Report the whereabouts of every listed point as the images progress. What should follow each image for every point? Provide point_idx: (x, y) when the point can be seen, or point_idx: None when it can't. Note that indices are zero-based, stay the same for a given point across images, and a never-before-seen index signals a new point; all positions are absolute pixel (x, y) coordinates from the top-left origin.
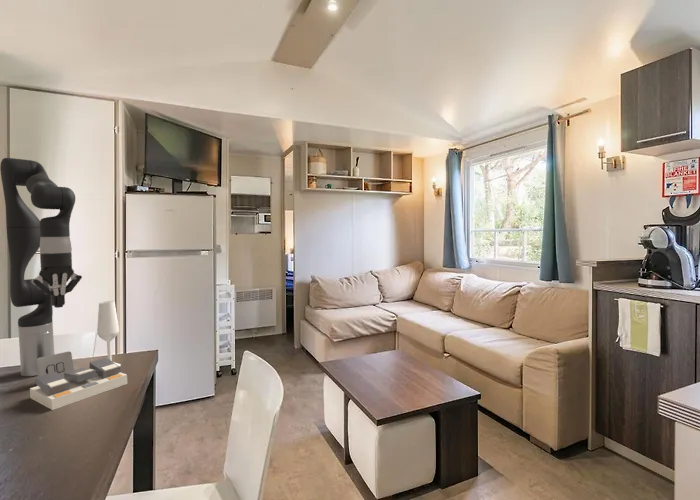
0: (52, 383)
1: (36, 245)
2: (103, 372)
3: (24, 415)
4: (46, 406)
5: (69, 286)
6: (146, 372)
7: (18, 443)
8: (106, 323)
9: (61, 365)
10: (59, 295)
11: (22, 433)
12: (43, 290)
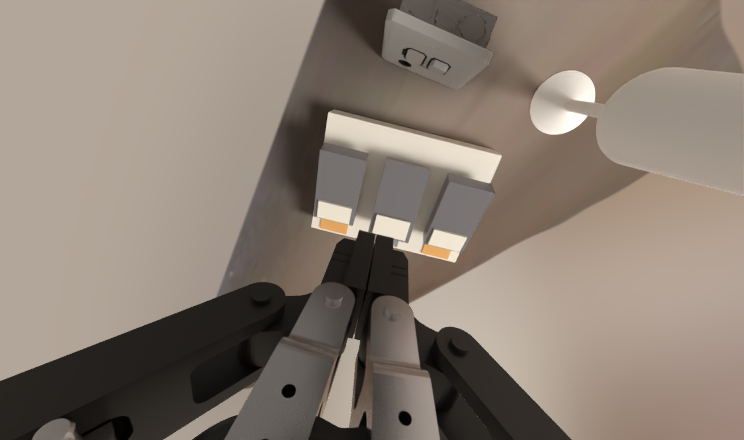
0: (326, 208)
1: None
2: (423, 242)
3: (285, 188)
4: None
5: (441, 437)
6: (522, 240)
7: (241, 268)
8: (644, 162)
9: (440, 70)
10: (360, 329)
11: (255, 248)
12: (194, 375)
